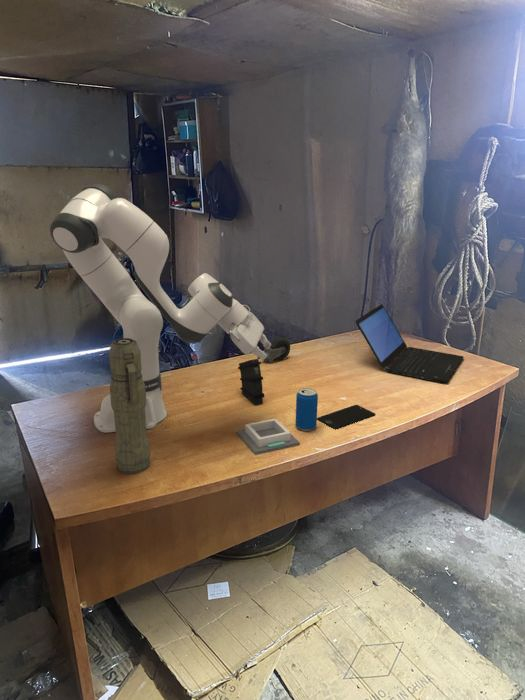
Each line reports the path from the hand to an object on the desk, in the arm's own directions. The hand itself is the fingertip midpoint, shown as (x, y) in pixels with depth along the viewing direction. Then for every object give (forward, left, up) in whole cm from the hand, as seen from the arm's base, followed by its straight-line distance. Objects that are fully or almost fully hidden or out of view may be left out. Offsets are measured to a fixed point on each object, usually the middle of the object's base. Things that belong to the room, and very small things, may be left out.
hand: (267, 352), depth 159 cm
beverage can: (+10, -7, -24) cm, 27 cm away
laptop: (+77, +27, -24) cm, 85 cm away
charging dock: (-4, -9, -24) cm, 25 cm away
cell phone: (+26, -6, -24) cm, 36 cm away
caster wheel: (+26, +50, -24) cm, 61 cm away
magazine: (+3, +20, -24) cm, 32 cm away
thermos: (-43, -8, -24) cm, 49 cm away
